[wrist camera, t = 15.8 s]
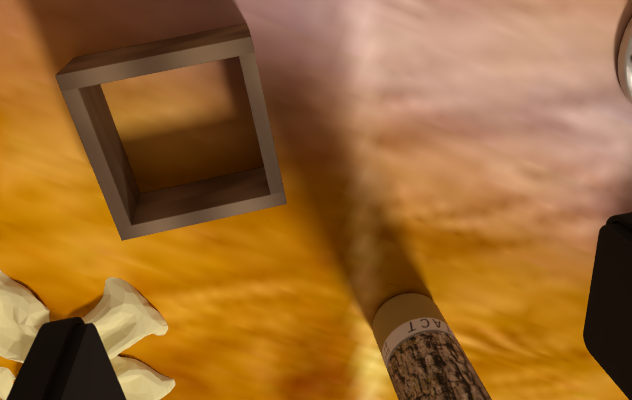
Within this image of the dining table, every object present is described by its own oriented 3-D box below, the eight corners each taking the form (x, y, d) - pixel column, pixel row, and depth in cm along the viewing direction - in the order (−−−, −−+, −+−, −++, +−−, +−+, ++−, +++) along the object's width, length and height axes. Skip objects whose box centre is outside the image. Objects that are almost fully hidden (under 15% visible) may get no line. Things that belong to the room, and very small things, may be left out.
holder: (246, 23, 37) (251, 36, 33) (279, 175, 43) (286, 203, 38) (74, 57, 36) (54, 75, 32) (131, 207, 42) (121, 240, 37)
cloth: (-79, 267, 42) (-122, 318, 36) (163, 249, 45) (156, 294, 39) (-5, 454, 52) (-30, 515, 47) (187, 429, 55) (184, 484, 50)
